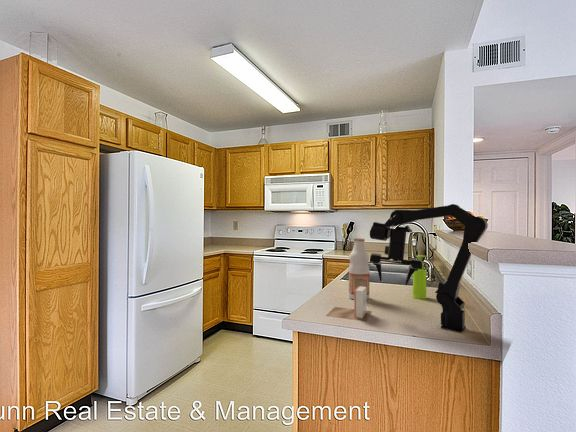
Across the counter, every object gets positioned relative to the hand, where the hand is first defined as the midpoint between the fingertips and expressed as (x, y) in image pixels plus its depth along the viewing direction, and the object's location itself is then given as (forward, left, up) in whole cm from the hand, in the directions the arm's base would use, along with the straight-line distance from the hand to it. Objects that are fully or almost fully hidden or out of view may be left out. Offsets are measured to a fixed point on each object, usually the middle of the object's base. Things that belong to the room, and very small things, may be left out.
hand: (393, 283), depth 120 cm
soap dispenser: (+2, -37, -13) cm, 39 cm away
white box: (+9, +8, -12) cm, 17 cm away
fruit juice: (+23, -16, -13) cm, 31 cm away
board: (+13, +10, -13) cm, 21 cm away
